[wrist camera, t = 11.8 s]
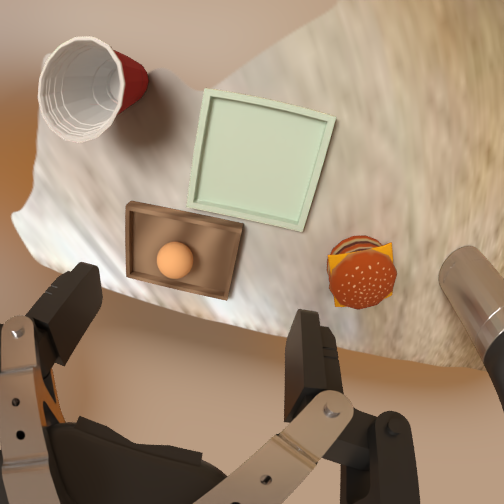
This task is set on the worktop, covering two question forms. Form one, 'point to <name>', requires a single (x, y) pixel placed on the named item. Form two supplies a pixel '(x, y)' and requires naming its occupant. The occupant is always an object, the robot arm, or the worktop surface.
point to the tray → (189, 233)
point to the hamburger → (361, 272)
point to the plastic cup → (87, 88)
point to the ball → (175, 260)
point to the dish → (257, 158)
